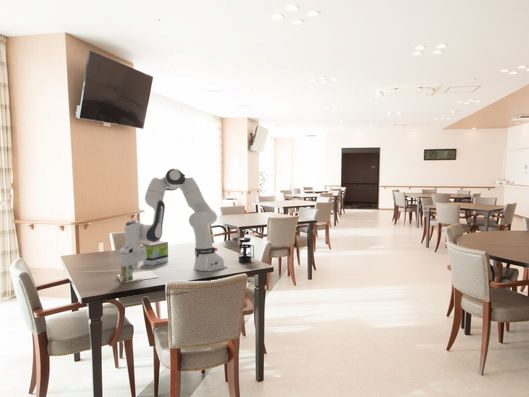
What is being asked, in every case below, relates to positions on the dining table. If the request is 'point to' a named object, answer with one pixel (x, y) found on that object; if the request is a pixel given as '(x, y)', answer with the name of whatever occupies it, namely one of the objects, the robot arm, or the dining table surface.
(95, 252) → the dining table surface
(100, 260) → the dining table surface
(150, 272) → the mat
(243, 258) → the french press
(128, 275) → the gate
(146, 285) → the dining table surface
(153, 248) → the tea box
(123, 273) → the latch post
